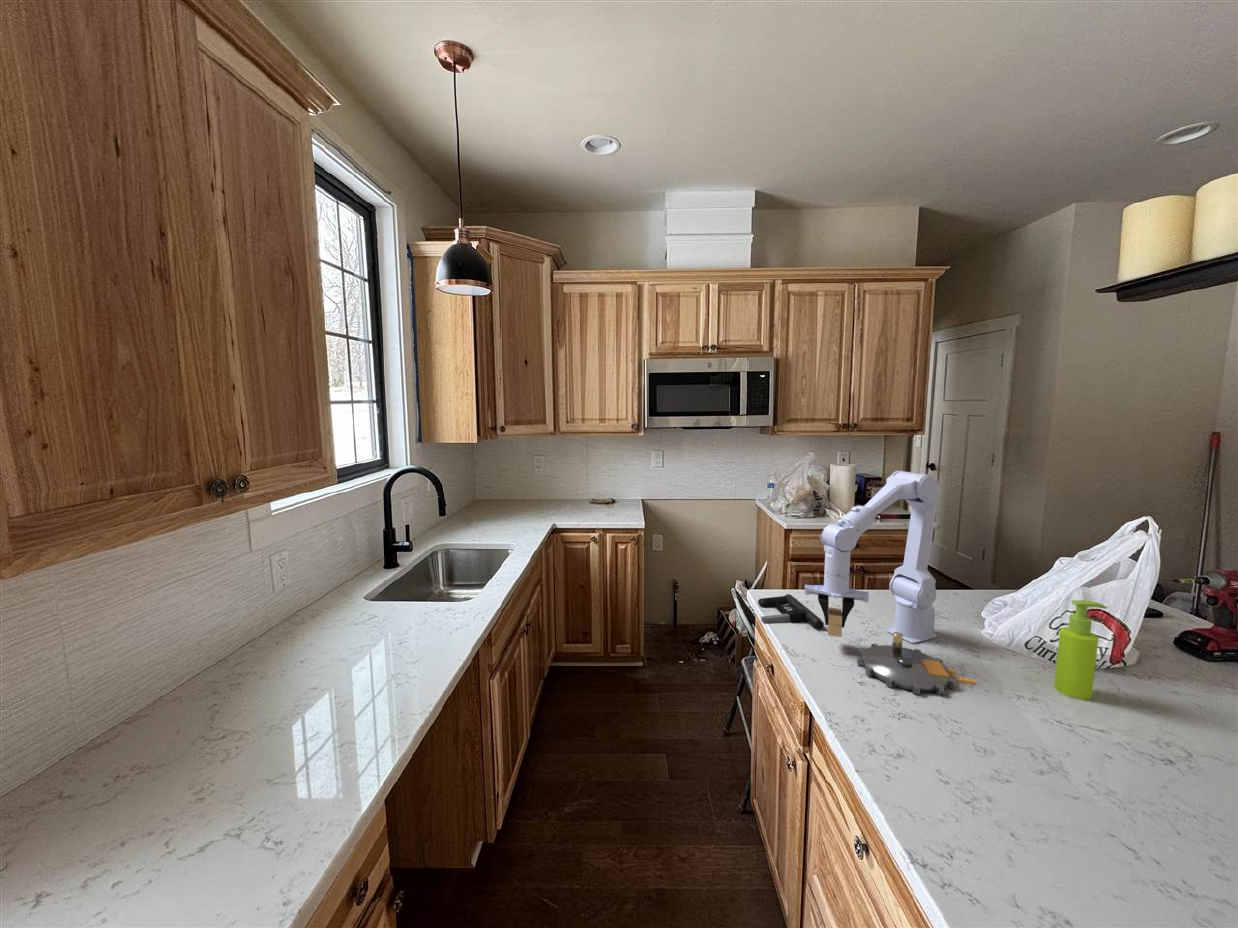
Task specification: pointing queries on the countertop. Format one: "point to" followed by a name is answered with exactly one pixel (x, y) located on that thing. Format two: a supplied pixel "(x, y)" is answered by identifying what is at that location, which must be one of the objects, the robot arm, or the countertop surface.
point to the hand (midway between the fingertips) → (834, 624)
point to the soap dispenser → (1077, 654)
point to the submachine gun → (789, 611)
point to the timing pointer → (966, 680)
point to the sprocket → (906, 667)
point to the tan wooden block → (834, 622)
